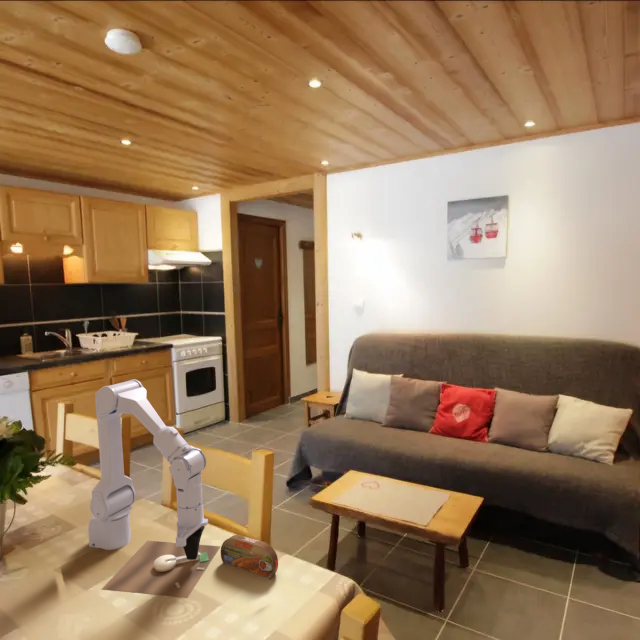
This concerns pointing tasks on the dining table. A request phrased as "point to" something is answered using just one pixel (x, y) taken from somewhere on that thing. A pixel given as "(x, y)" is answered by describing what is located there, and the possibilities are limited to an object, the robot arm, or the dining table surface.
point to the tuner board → (173, 582)
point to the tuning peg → (168, 562)
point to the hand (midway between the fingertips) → (192, 558)
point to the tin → (250, 555)
